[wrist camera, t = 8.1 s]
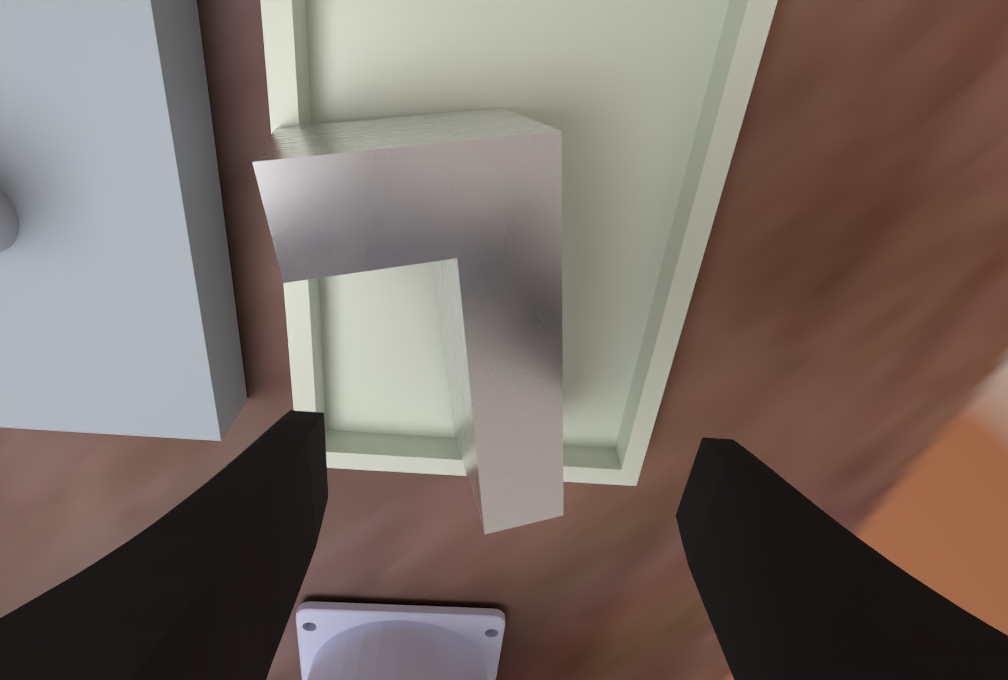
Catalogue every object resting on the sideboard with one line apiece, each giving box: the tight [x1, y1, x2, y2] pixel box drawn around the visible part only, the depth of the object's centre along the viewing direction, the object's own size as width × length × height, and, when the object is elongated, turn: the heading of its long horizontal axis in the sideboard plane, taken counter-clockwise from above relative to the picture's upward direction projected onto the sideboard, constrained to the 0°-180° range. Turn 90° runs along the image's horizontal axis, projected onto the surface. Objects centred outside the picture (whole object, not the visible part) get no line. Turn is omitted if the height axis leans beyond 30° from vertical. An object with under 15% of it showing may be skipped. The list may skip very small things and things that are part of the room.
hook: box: [252, 108, 563, 534], centre depth 13 cm, size 9×5×4 cm, turn 3°
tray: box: [260, 0, 778, 486], centre depth 14 cm, size 14×10×2 cm
